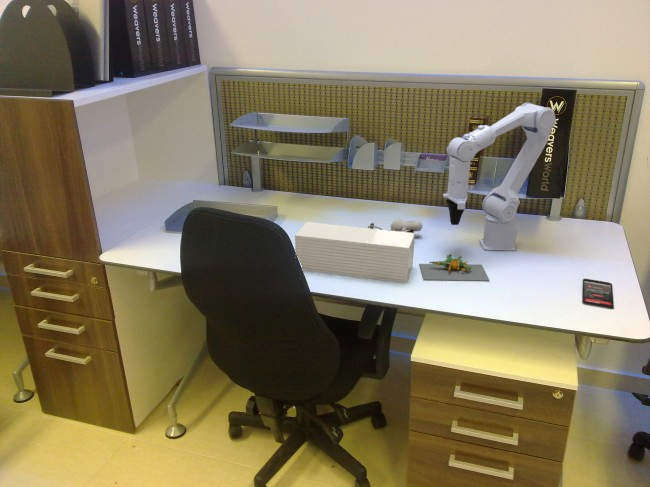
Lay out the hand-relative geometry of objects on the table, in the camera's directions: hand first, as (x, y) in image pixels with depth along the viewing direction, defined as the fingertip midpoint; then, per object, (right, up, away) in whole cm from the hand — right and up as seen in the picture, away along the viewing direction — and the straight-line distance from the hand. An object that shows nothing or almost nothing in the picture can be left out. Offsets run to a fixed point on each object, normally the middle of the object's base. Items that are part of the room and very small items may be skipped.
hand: (454, 224), depth 171 cm
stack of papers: (-30, -13, -6) cm, 33 cm away
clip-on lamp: (-17, -4, +16) cm, 23 cm away
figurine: (-2, -10, -4) cm, 11 cm away
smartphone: (+33, -20, -20) cm, 43 cm away
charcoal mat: (-2, -14, -9) cm, 17 cm away
